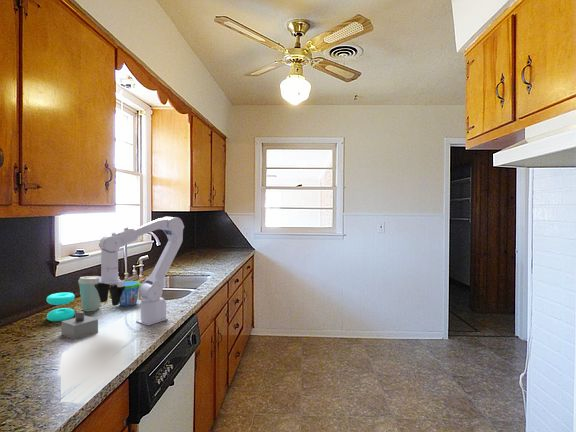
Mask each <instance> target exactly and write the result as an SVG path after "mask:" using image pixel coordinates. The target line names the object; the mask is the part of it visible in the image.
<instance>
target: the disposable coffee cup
mask: <svg viewBox="0 0 576 432" xmlns="http://www.w3.org/2000/svg"><path fill="white" fill-rule="evenodd" d="M97 277H101V275H100V276H99V275H92V276H91V275H90V276H89V275H87V276H80V277H79V279H78V280H77V281H78V282H77V283H78V287H79V294H80V301H81V306H82V310H83V311H84V312H95V311H98V310H99V309H100V306H101V303H102V302H101V301H100V297H99V294H98V291H97V289H96V288H95V286H94V285H95V284H98V283H97V282H96V278H97Z"/></svg>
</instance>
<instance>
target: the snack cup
mask: <svg viewBox="0 0 576 432" xmlns="http://www.w3.org/2000/svg"><path fill="white" fill-rule="evenodd" d="M141 284H142V283H140V281H137V280H129V281H124V286H125V289H124V291H123V293H122V295H121V298H120V302H119V306H121V307H129V306H135V305H136V304H137V302H138V296H139V287H140V285H141ZM112 287H114V285H112ZM109 297H110V299H112V298H111V293H110V292H109Z"/></svg>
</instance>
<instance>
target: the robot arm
mask: <svg viewBox="0 0 576 432" xmlns="http://www.w3.org/2000/svg"><path fill="white" fill-rule="evenodd" d="M184 229H185V225H184V222H183V220H182V219H181V218H180V217H177V216H174V217H173V216H163V217H160V218H159V217H158V218H157V219H155V220H152V221H149V222H148V223H144V224H143V225H141V226H138V227H136V228H133V227H128V226H125V227H124V228H123V230H120V231H118V232H112V233H111V235H105V236H103V237H102V238H100V240H99V243H98V247H99V248H100V250H101V253H100V255H101V256H100V268H101V269H100V277H97V278H96V282H97V283H98V284H95V285H94V286H95V288H96V289H97V291H98V294H99V297H100V301H101V302H100V303H106V302H108V299H109V294H110V293H111V298H110V299H111V304H112V306H114V307H115V306H118V305H119V306H120V304H119V302H120V298H121V295H122V293H123V291H124V289H125V286H124V282H125V281H124V280H121V279H120V278H119V250H120V249H121V248H122V247H124V246H128V245H129V244H131V243H134V242H137V240H138V238H139V237H140V236H143V235H146V234H149V233H151V232H153V231H157V230H162V231H163V232H164V234H165V235H166V237H167V240H168V241H167V243H166V245H165V246H164V249H163V251H162V253H161V255H160V256H159V259H158V261H157V262H156V264H155V266H154V268H153V270H152V272H151V274H150V275H149V276H147V277H146V279H145V280H144V281H143V282H142V283H140V284H141V285H140V286H139V290H138V295H139V296H141V299H140V319H137V320H135V322H136V323H139V324H143V325H145V326H151V325H154V324H157V323H160V322H163V321H166V320H168V317H167V302H166V300H165V298H163V297H162V295H163V289H164V287H165V282H164V281H165V280H164V279H165V277H166V275H167V273H168V272H169V269H170V267H171V265H172V263H173V261H174V259H175V258H176V256H177V253H178V252H179V249H180V248H181V246H182V243H183V241H184V240H183V239H184V238H183V237H184V236H183V235H184ZM113 286H114V287H113Z"/></svg>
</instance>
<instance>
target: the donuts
mask: <svg viewBox="0 0 576 432" xmlns="http://www.w3.org/2000/svg"><path fill="white" fill-rule="evenodd" d="M75 297H76V296H75V294H74V293H73V292H56V293H51V294H50V295H47V297H46V302H47V303H48V305H49V304H50V305H52V306H53V305H55V306H58V305H59V306H62V305H67V304H69V303H71V302H73V301H74V300H75ZM75 313H76V312H75V310H74V309H73V308H70V307H60V308H56V309H53V310H51V311H49V312H48V313H47V315H46V319H47V320H48V321H50V322H61V321H65V320H69V319H73V318H74V316H75Z"/></svg>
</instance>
